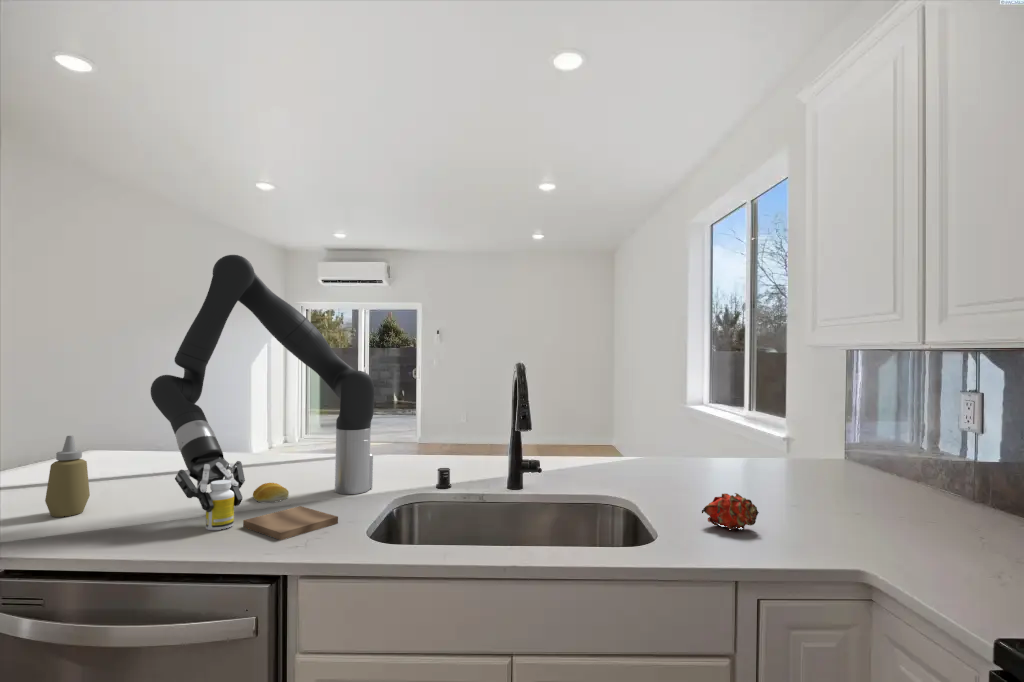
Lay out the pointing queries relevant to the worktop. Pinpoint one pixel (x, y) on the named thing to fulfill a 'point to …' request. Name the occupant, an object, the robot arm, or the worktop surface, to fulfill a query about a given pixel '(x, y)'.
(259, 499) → the bread roll
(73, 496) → the squeeze bottle
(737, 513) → the dragon fruit
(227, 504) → the supplement bottle
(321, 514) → the walnut board
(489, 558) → the worktop surface
